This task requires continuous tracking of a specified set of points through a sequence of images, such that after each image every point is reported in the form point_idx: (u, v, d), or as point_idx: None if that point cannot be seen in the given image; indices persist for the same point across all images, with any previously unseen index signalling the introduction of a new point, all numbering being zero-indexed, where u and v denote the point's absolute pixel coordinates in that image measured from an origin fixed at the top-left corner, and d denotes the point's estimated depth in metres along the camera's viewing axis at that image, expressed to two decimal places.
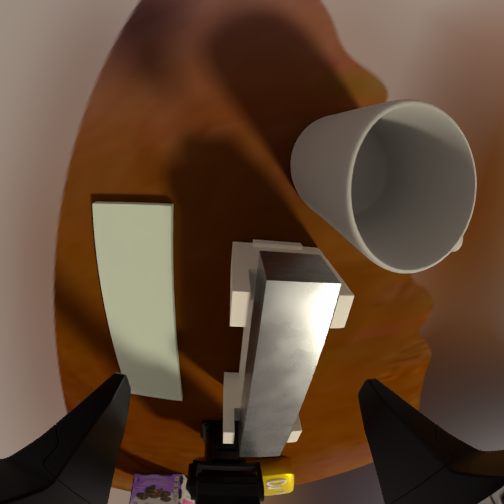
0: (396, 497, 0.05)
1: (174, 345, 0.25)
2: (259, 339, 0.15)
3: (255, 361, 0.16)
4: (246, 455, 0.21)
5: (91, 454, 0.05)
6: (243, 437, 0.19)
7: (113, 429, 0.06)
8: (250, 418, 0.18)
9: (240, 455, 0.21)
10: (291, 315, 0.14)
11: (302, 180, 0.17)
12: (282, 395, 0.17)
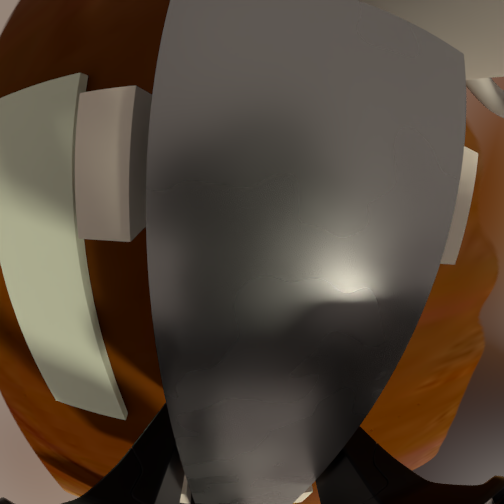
0: None
1: (92, 331, 0.13)
2: (154, 281, 0.03)
3: (165, 379, 0.04)
4: None
5: (173, 473, 0.05)
6: None
7: None
8: (202, 493, 0.06)
9: None
10: (304, 138, 0.03)
11: None
12: (274, 465, 0.05)
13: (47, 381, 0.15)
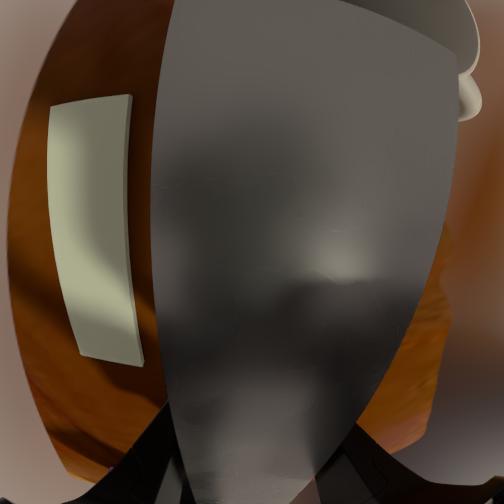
0: None
1: (126, 280, 0.19)
2: (157, 273, 0.03)
3: (166, 371, 0.04)
4: None
5: (173, 473, 0.05)
6: None
7: None
8: (201, 489, 0.06)
9: None
10: (301, 137, 0.03)
11: None
12: (273, 459, 0.05)
13: (76, 335, 0.21)
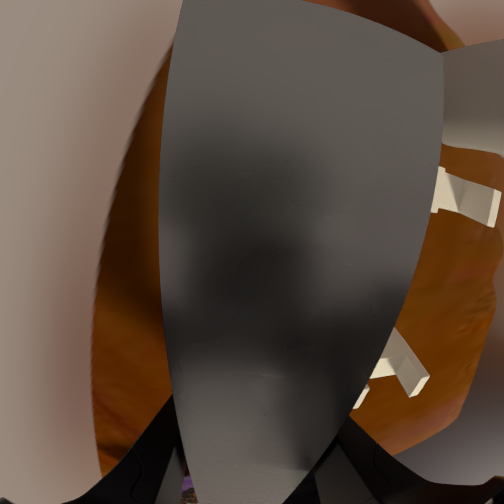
0: None
1: None
2: (164, 256, 0.04)
3: (170, 353, 0.04)
4: None
5: (173, 473, 0.05)
6: (198, 498, 0.08)
7: None
8: (202, 480, 0.07)
9: None
10: (295, 133, 0.03)
11: None
12: (272, 447, 0.06)
13: None
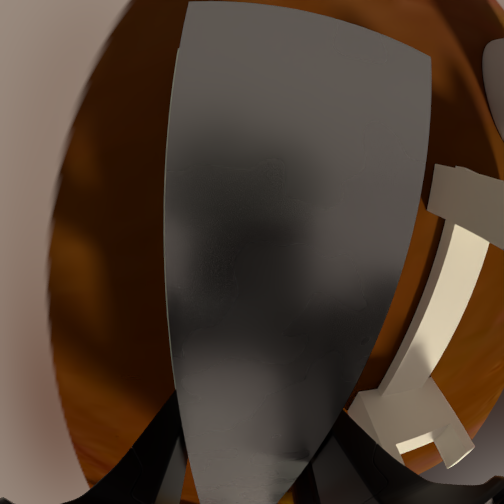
0: None
1: None
2: (169, 245, 0.04)
3: (173, 339, 0.05)
4: None
5: (173, 473, 0.05)
6: (199, 492, 0.08)
7: (185, 442, 0.07)
8: (202, 471, 0.07)
9: None
10: (289, 132, 0.03)
11: None
12: (271, 437, 0.06)
13: None
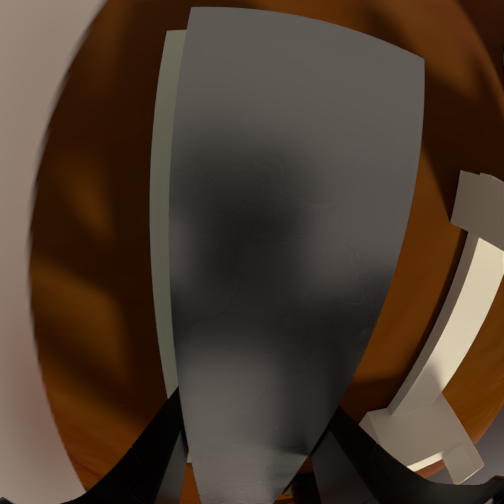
0: None
1: None
2: (172, 240, 0.04)
3: (175, 332, 0.05)
4: None
5: (173, 473, 0.05)
6: (199, 488, 0.08)
7: (185, 442, 0.07)
8: (202, 466, 0.07)
9: None
10: (286, 133, 0.04)
11: None
12: (270, 430, 0.06)
13: None
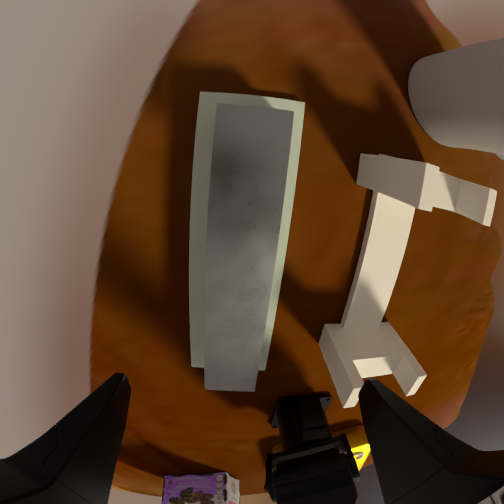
0: (397, 497, 0.05)
1: (278, 286, 0.21)
2: (211, 173, 0.14)
3: (208, 207, 0.14)
4: (213, 386, 0.19)
5: (91, 454, 0.05)
6: (205, 349, 0.18)
7: (113, 429, 0.06)
8: (210, 311, 0.17)
9: (205, 386, 0.19)
10: (244, 143, 0.13)
11: (436, 93, 0.13)
12: (245, 269, 0.16)
13: (193, 346, 0.23)
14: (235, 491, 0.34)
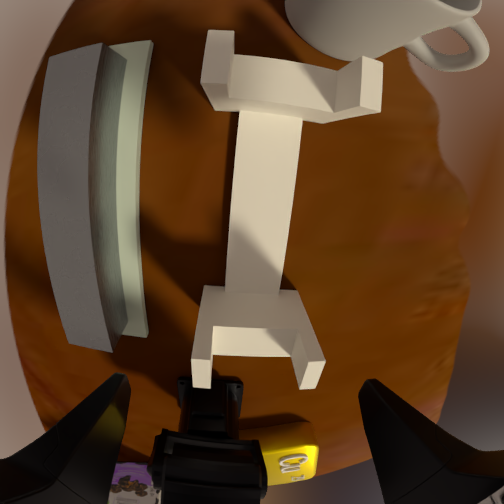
0: (397, 497, 0.05)
1: (134, 231, 0.18)
2: (40, 114, 0.10)
3: (38, 143, 0.11)
4: (74, 340, 0.16)
5: (91, 454, 0.05)
6: (54, 292, 0.15)
7: (113, 429, 0.06)
8: (48, 247, 0.14)
9: (68, 339, 0.16)
10: (63, 81, 0.10)
11: None
12: (66, 199, 0.13)
13: None
14: None
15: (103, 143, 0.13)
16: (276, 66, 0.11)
